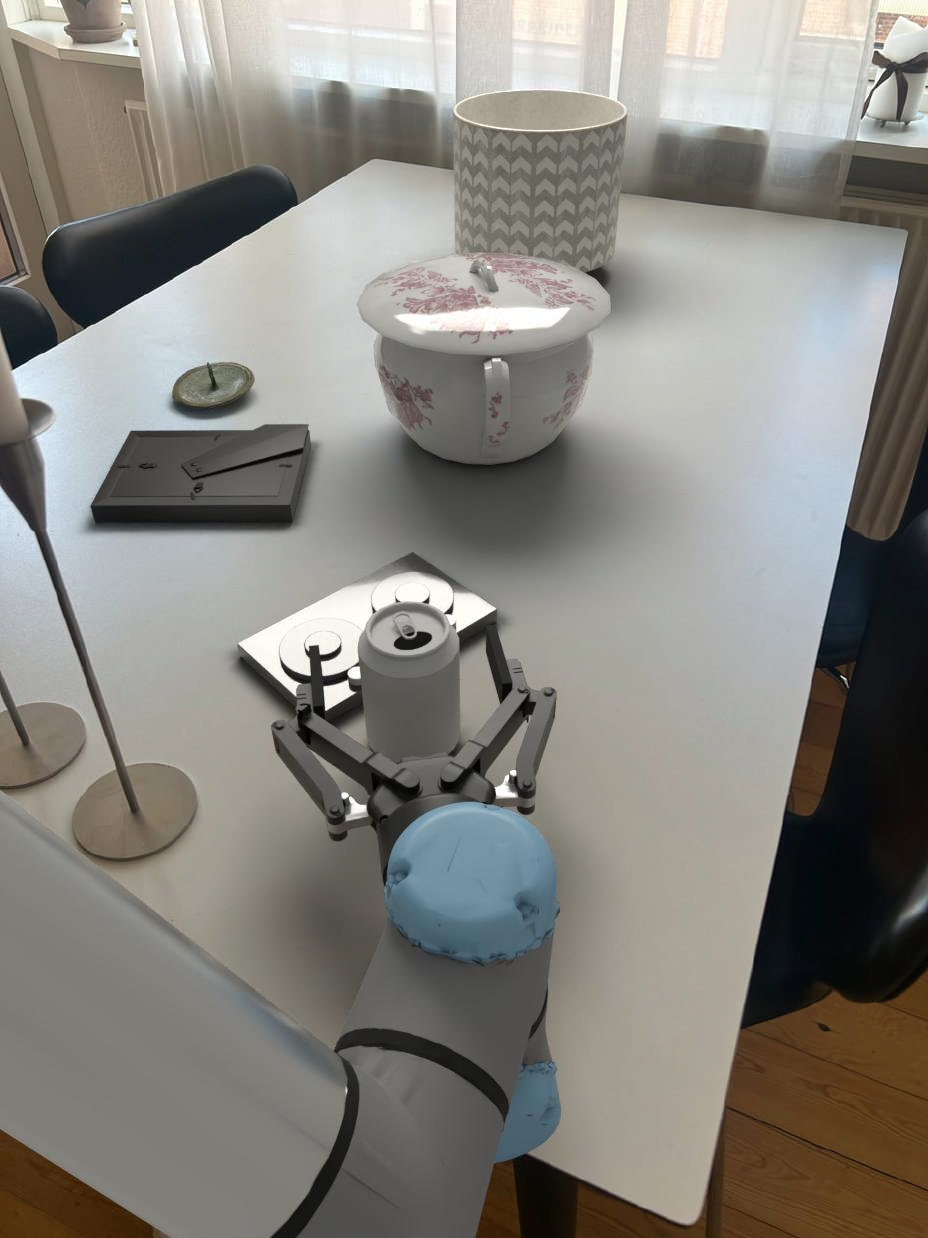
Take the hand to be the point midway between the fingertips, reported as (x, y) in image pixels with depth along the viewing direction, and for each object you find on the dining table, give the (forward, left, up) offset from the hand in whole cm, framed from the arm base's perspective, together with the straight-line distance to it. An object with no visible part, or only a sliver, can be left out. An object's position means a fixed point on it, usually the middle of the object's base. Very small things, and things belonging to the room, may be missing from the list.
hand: (404, 648), depth 75 cm
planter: (-62, +77, -8) cm, 99 cm away
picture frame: (-43, +7, -8) cm, 44 cm away
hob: (-10, +4, -8) cm, 13 cm away
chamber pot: (-30, +36, -8) cm, 47 cm away
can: (+2, -1, -8) cm, 8 cm away
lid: (-60, +18, -8) cm, 63 cm away
